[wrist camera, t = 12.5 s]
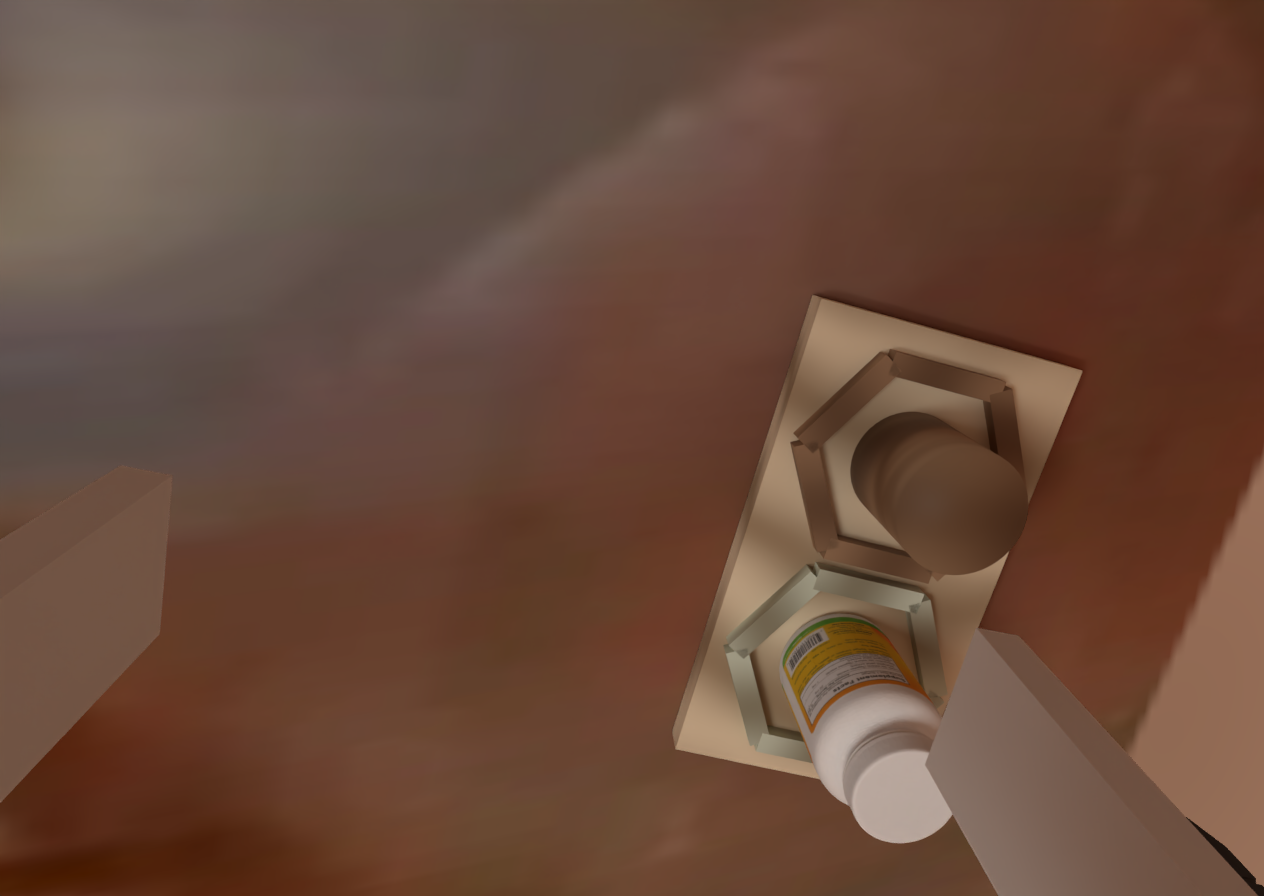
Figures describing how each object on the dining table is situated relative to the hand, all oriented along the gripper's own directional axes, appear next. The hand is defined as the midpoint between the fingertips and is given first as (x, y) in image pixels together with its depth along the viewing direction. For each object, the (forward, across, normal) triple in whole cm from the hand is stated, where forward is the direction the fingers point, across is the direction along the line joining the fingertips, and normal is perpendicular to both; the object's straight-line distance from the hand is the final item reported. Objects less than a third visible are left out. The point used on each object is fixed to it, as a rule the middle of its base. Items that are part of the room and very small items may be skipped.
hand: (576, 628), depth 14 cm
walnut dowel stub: (+24, +15, -2) cm, 28 cm away
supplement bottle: (+23, +14, -12) cm, 30 cm away
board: (+25, +14, -7) cm, 30 cm away
